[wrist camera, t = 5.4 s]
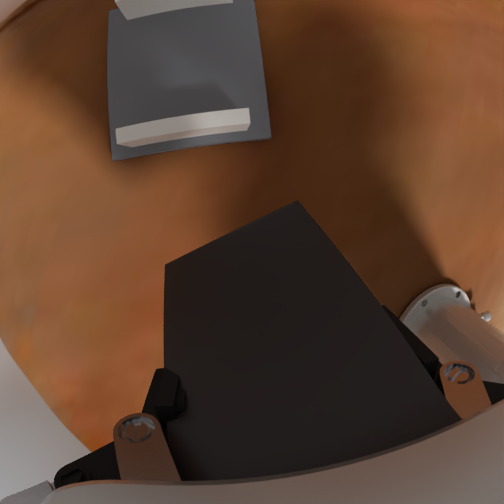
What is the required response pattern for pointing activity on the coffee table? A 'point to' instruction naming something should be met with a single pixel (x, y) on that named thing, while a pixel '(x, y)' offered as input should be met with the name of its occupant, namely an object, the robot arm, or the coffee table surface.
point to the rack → (184, 76)
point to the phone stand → (286, 357)
